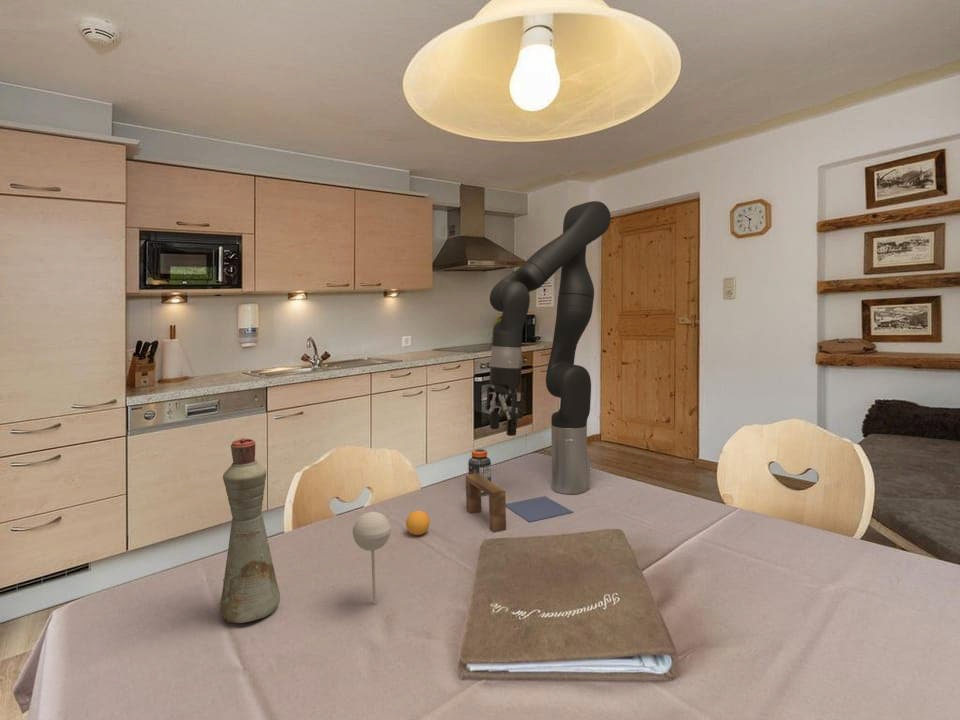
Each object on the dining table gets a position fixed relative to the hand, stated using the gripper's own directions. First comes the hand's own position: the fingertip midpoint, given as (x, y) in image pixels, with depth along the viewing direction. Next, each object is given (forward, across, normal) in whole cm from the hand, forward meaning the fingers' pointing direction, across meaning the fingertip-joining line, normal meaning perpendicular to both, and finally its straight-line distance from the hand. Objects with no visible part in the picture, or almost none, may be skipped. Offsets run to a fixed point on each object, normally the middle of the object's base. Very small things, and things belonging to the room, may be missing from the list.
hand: (502, 432), depth 123 cm
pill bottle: (+18, +10, 0) cm, 21 cm away
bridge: (+19, -6, +7) cm, 21 cm away
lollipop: (+21, -29, +38) cm, 52 cm away
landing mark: (+18, -6, -7) cm, 20 cm away
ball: (+17, -7, +23) cm, 30 cm away
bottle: (+22, -22, +56) cm, 64 cm away
